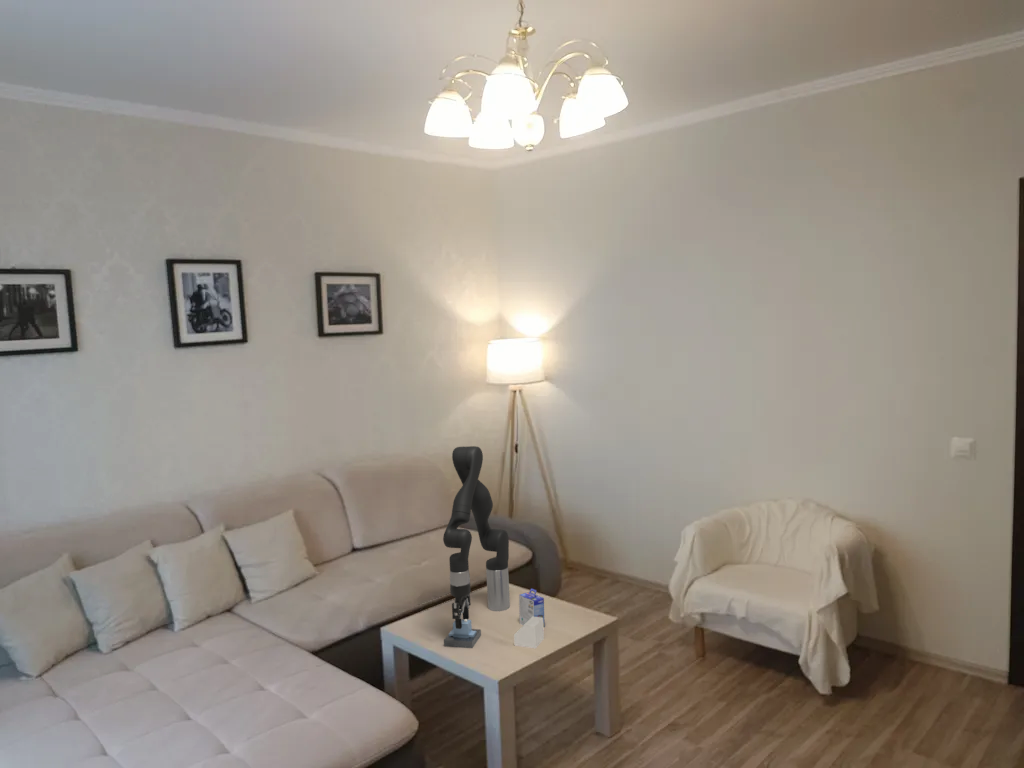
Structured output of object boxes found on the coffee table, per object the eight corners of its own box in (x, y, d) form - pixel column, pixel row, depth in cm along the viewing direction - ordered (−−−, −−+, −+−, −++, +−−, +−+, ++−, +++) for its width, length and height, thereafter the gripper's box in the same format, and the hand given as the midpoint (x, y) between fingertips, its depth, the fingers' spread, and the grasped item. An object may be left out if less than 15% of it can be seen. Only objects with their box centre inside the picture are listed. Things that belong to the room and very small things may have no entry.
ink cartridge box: (545, 628, 276) (544, 591, 275) (534, 632, 272) (533, 595, 272) (530, 621, 284) (528, 585, 283) (519, 624, 280) (517, 588, 280)
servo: (452, 637, 271) (451, 616, 270) (476, 639, 268) (475, 618, 268) (449, 642, 267) (448, 620, 266) (473, 643, 264) (472, 622, 264)
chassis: (453, 634, 274) (453, 627, 274) (481, 635, 271) (480, 629, 271) (444, 646, 263) (443, 639, 263) (472, 648, 261) (472, 641, 261)
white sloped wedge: (550, 632, 272) (549, 611, 271) (535, 649, 258) (534, 626, 257) (529, 630, 275) (528, 608, 274) (514, 646, 261) (513, 623, 261)
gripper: (456, 574, 274) (459, 615, 275) (444, 587, 260) (446, 631, 261) (475, 575, 272) (477, 616, 273) (463, 588, 258) (466, 632, 259)
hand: (462, 623), depth 267 cm, fingers open, 8 cm apart
